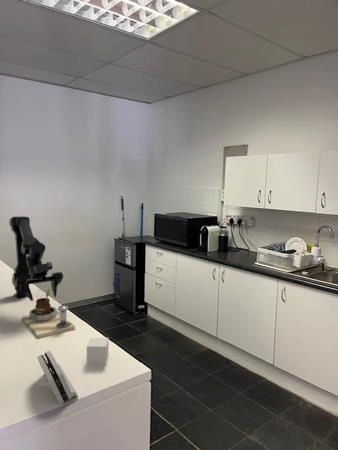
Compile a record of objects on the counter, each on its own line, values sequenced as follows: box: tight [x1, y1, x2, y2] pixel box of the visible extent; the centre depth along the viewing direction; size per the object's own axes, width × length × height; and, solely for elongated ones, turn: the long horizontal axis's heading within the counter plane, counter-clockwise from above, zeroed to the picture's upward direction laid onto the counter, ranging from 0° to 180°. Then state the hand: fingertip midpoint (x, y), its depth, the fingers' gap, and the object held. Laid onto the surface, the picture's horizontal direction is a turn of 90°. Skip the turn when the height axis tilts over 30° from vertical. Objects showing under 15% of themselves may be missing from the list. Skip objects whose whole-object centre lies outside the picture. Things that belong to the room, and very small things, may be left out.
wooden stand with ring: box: [21, 304, 76, 339], centre depth 134 cm, size 22×14×9 cm, turn 38°
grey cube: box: [86, 337, 109, 365], centre depth 107 cm, size 6×6×6 cm
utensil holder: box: [34, 288, 52, 315], centre depth 138 cm, size 6×6×12 cm
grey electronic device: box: [36, 350, 79, 405], centre depth 92 cm, size 17×5×10 cm, turn 33°
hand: (44, 298), depth 136 cm, fingers open, 9 cm apart
